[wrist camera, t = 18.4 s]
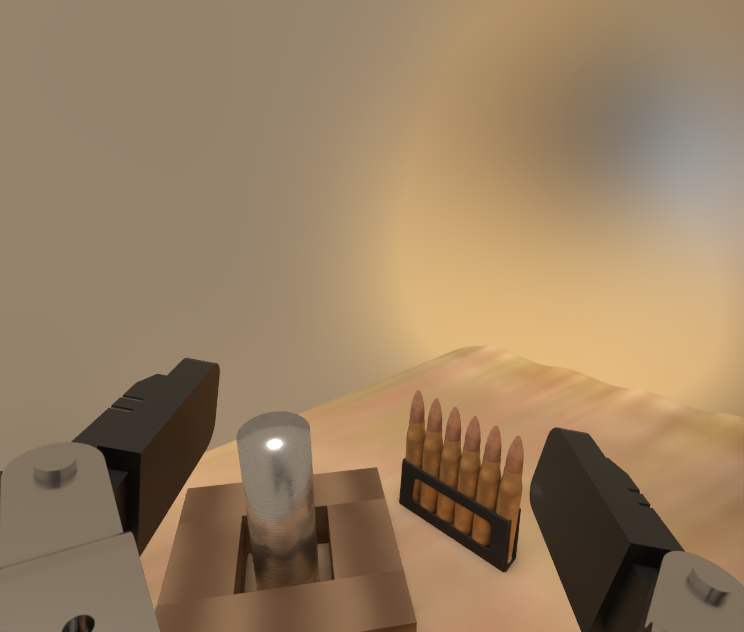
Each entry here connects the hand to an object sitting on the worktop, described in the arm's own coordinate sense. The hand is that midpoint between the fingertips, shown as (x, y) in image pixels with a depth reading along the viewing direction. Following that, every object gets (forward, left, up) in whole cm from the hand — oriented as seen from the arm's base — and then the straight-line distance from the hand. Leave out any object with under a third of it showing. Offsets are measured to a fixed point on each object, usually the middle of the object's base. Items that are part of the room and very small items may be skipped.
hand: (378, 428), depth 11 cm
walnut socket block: (+4, -16, -26) cm, 31 cm away
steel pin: (+4, -16, -26) cm, 31 cm away
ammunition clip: (-10, -19, -26) cm, 34 cm away
